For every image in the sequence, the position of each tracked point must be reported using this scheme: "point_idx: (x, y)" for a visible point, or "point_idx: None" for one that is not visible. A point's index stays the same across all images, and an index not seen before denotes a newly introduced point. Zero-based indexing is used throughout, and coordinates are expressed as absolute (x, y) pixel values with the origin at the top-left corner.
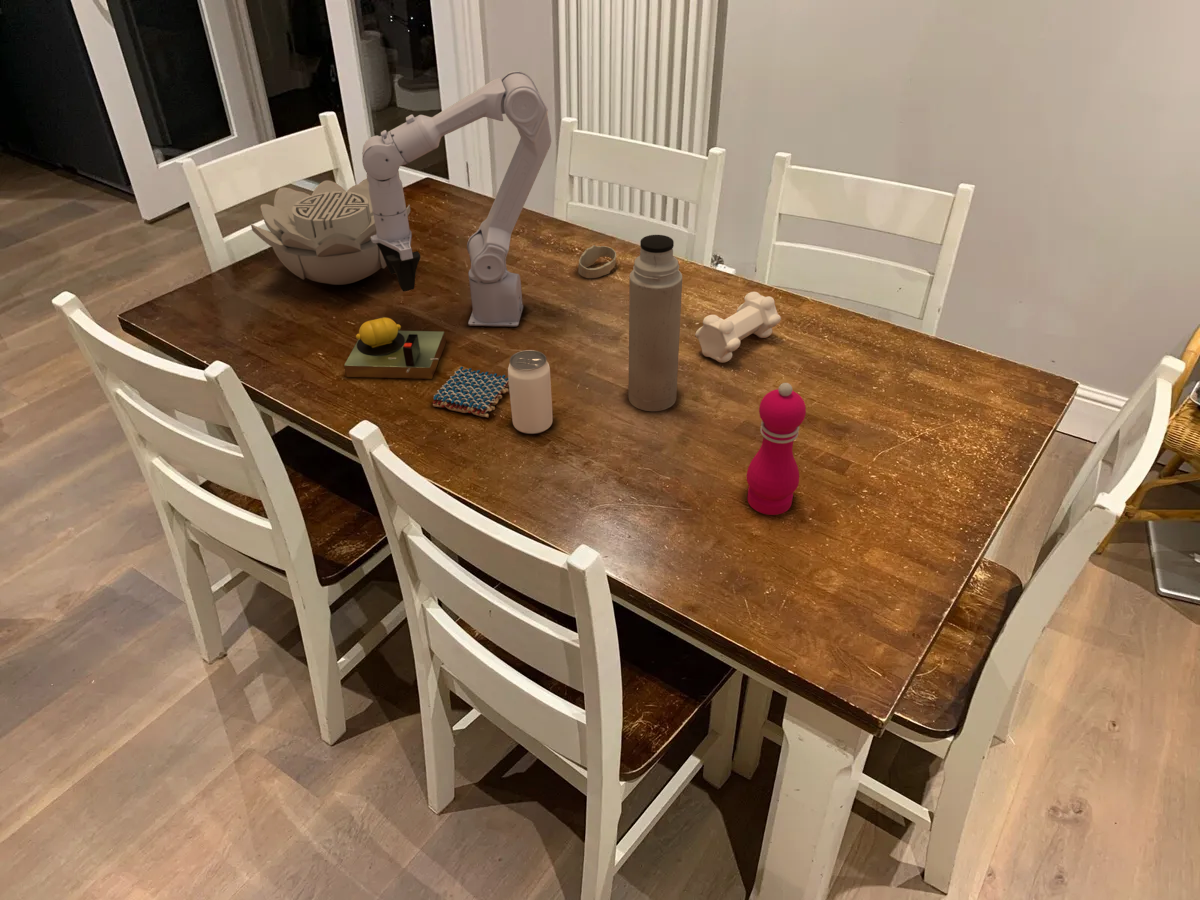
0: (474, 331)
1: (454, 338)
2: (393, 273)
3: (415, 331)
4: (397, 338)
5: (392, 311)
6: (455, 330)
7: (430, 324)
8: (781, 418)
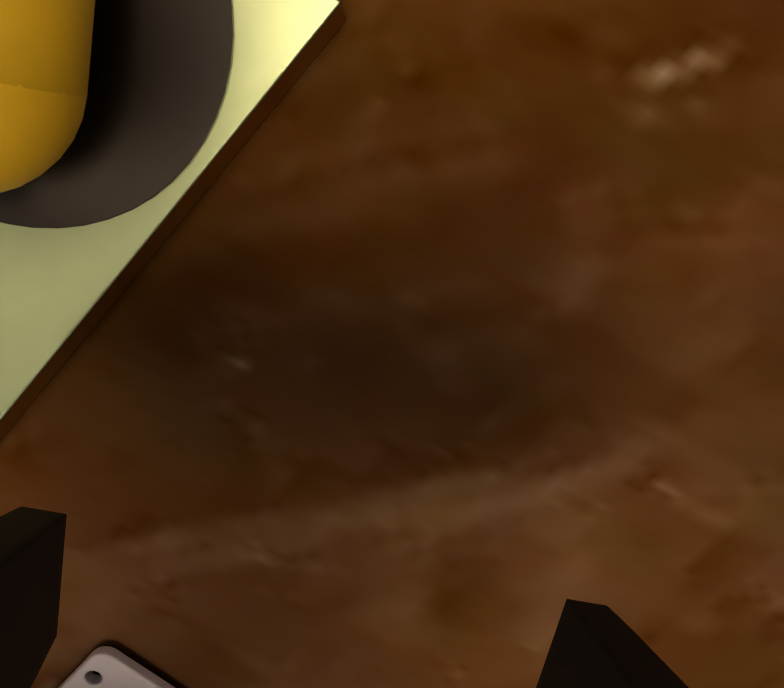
0: None
1: None
2: (558, 628)
3: (56, 339)
4: None
5: (602, 386)
6: (110, 563)
7: (274, 489)
8: None
